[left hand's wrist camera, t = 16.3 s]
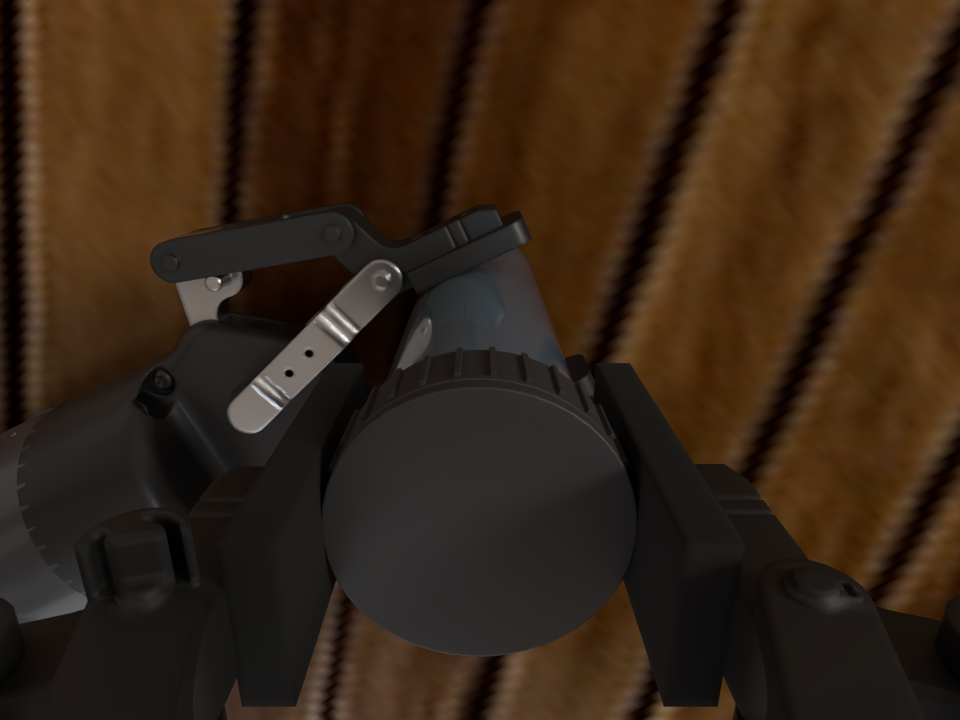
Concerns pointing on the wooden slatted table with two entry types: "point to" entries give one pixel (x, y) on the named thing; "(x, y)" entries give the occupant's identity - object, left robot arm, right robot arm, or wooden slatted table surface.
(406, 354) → the jar
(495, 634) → the lid
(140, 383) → the right robot arm
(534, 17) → the wooden slatted table surface
